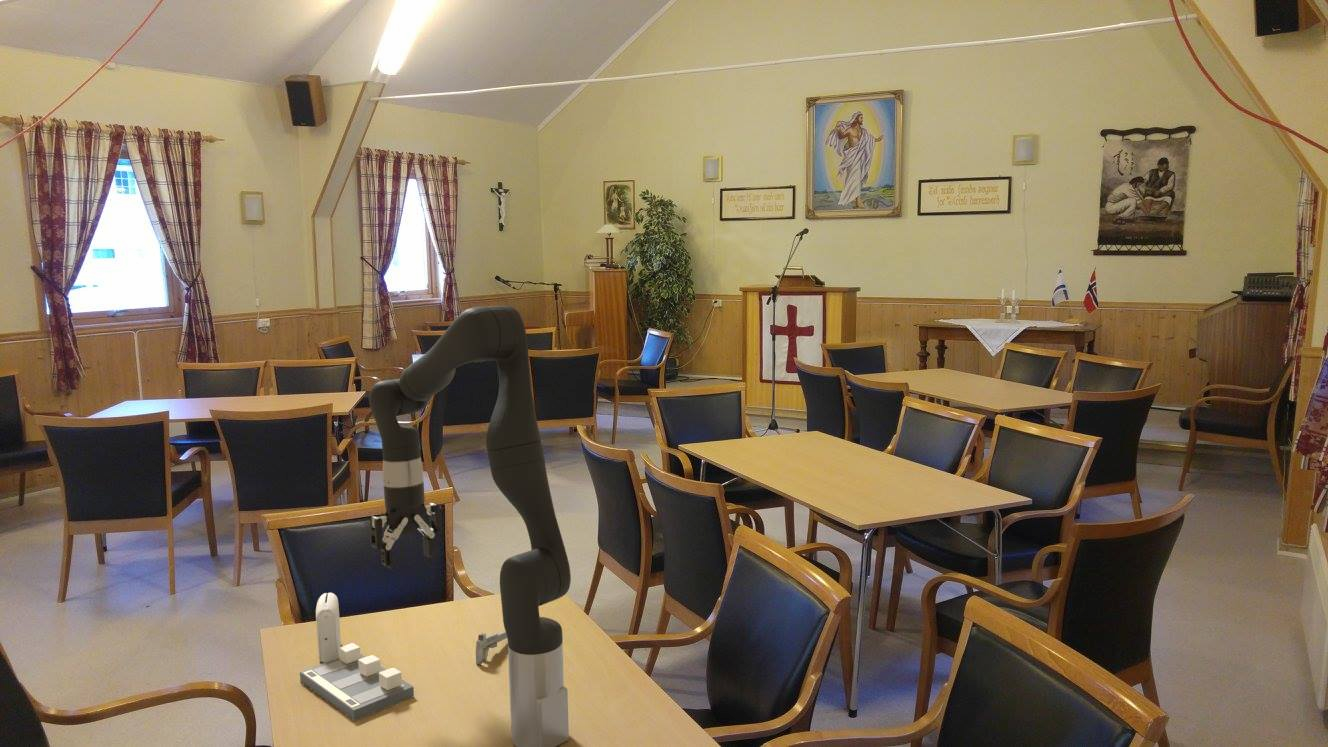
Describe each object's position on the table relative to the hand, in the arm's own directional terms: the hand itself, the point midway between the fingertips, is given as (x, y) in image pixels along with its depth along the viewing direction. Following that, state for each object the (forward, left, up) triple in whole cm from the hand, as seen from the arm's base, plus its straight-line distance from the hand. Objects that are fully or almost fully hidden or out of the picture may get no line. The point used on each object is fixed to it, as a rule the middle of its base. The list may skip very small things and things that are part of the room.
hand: (409, 561), depth 176 cm
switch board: (+3, +11, -23) cm, 26 cm away
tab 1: (+11, +8, -21) cm, 25 cm away
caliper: (-2, -20, -24) cm, 31 cm away
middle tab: (+3, +8, -21) cm, 23 cm away
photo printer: (+22, +7, -23) cm, 33 cm away
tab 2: (-5, +8, -21) cm, 23 cm away
